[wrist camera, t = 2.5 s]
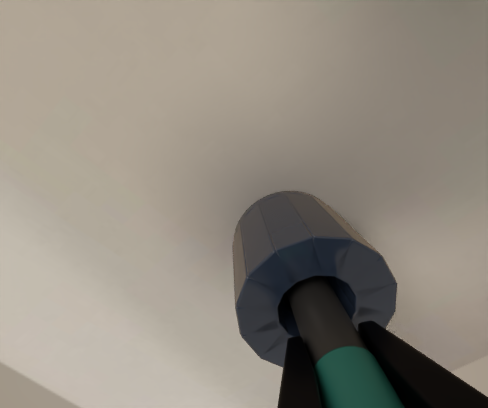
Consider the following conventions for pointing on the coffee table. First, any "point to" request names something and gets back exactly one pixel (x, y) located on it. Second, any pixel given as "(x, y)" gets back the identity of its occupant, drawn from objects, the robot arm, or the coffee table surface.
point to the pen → (338, 350)
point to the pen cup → (302, 269)
